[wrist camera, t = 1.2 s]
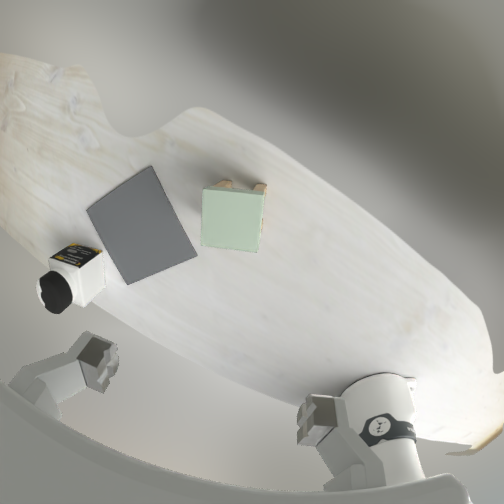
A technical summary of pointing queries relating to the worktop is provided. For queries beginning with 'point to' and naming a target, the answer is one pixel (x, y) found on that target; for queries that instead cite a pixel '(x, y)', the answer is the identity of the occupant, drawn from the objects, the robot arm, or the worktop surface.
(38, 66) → the worktop surface
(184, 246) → the mat
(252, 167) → the worktop surface
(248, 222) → the stool
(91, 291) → the medicine bottle
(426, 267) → the worktop surface
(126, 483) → the robot arm
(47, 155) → the worktop surface
